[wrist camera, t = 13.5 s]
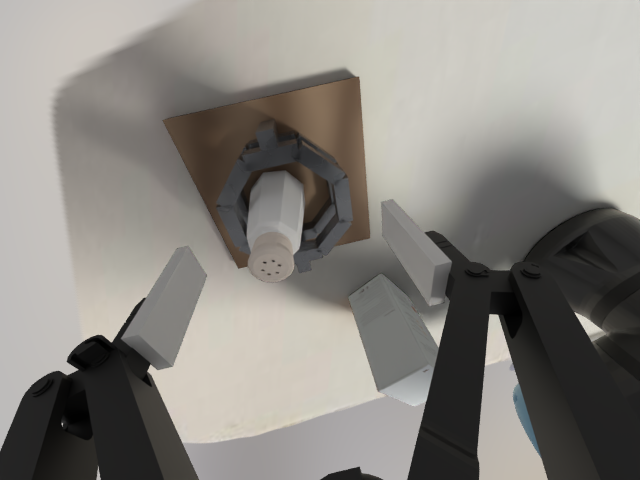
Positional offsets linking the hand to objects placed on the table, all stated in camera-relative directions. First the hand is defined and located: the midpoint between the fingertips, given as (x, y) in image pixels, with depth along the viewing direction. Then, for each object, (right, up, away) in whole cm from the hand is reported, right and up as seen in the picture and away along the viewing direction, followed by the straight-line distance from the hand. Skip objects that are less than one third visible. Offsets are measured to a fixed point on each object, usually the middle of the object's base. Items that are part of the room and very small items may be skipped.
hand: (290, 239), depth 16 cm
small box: (+11, -9, +20) cm, 24 cm away
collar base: (-1, +5, +8) cm, 10 cm away
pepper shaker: (-2, +4, +7) cm, 9 cm away
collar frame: (-1, +5, +8) cm, 10 cm away
